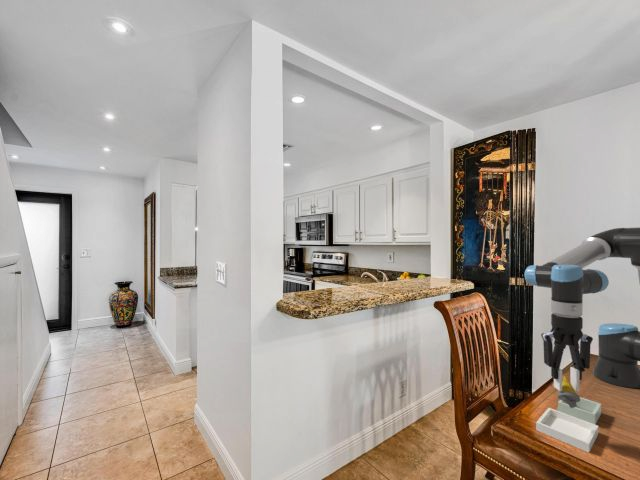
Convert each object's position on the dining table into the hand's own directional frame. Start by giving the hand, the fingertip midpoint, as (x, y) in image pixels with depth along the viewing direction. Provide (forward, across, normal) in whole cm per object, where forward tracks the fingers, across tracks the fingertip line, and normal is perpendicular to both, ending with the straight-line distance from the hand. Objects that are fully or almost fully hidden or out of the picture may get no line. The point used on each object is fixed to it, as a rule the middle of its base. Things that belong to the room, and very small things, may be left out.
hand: (566, 389), depth 93 cm
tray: (+14, 0, 0) cm, 14 cm away
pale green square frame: (+13, +11, +11) cm, 21 cm away
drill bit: (+4, 0, 0) cm, 4 cm away
